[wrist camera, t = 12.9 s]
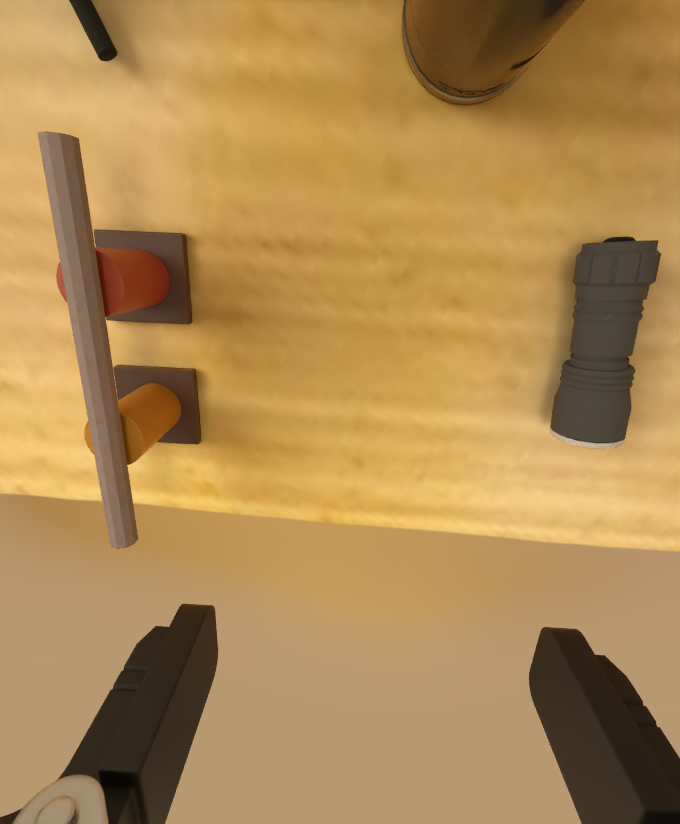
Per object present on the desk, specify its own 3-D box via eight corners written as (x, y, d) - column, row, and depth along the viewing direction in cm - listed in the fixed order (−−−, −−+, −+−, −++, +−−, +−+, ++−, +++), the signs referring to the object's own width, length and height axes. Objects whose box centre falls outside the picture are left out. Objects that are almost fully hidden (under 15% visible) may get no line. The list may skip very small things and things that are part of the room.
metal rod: (118, 532, 34) (104, 548, 32) (53, 140, 25) (28, 130, 23) (142, 533, 34) (129, 549, 32) (85, 141, 25) (63, 132, 23)
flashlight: (564, 240, 33) (602, 236, 28) (635, 237, 33) (687, 233, 28) (539, 424, 38) (568, 449, 33) (601, 422, 38) (639, 448, 33)
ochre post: (117, 364, 38) (58, 391, 30) (196, 368, 37) (155, 396, 30) (127, 437, 40) (75, 478, 32) (201, 441, 40) (165, 483, 32)
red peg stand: (98, 229, 34) (25, 222, 26) (185, 233, 34) (137, 227, 26) (111, 319, 36) (47, 335, 29) (192, 323, 36) (149, 340, 29)
